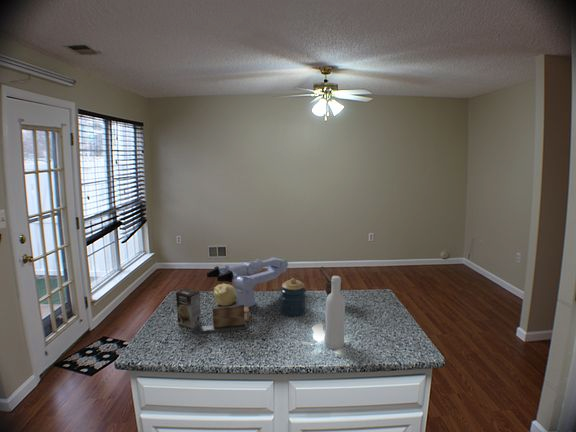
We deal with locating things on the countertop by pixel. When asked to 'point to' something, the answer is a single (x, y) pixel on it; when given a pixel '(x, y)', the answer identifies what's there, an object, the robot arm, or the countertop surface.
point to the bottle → (335, 316)
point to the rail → (217, 328)
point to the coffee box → (188, 307)
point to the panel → (228, 316)
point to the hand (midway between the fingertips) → (212, 277)
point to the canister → (293, 298)
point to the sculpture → (224, 294)
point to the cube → (246, 314)
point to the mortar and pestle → (328, 281)
